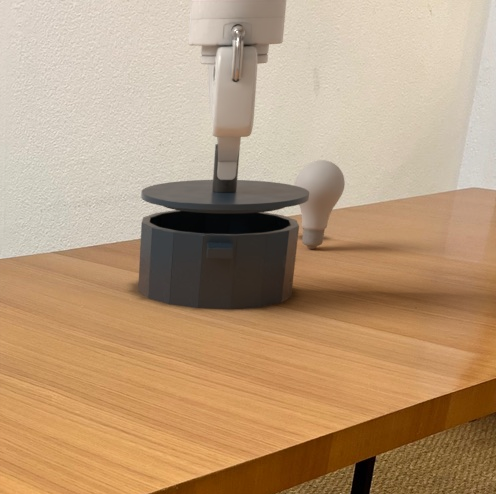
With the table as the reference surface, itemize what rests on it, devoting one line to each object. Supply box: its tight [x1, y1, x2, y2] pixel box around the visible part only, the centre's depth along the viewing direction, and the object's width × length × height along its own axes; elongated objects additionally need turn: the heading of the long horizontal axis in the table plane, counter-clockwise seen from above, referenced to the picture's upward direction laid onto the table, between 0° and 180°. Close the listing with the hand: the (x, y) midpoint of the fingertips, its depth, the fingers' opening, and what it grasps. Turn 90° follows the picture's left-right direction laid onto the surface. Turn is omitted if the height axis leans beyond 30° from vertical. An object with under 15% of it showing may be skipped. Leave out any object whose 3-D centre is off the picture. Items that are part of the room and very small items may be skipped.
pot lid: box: [140, 143, 309, 214], centre depth 105 cm, size 17×17×6 cm
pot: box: [137, 209, 300, 310], centre depth 109 cm, size 16×21×8 cm
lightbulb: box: [293, 159, 346, 250], centre depth 134 cm, size 6×6×11 cm
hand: (225, 176), depth 106 cm, fingers closed on pot lid, 2 cm apart
